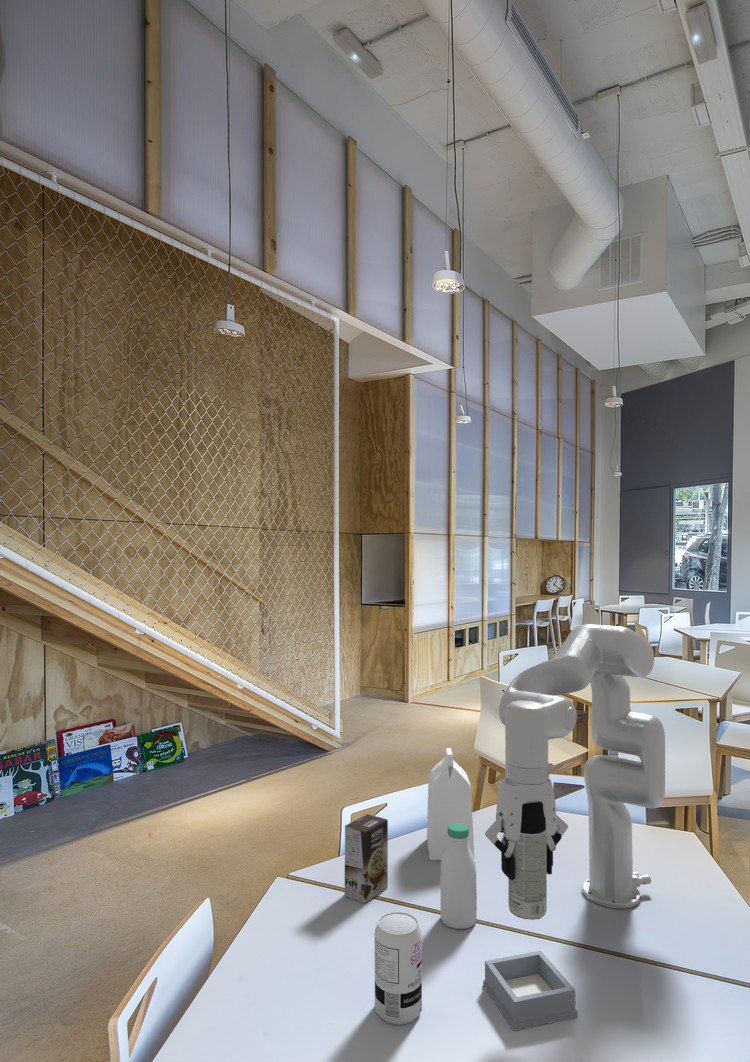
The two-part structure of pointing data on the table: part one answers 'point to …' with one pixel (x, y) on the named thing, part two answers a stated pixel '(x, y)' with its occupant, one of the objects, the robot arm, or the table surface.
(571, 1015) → the holder
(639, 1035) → the table surface
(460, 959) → the table surface
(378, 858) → the coffee box
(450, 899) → the milk bottle
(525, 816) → the spray can
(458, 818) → the milk
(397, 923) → the supplement can
